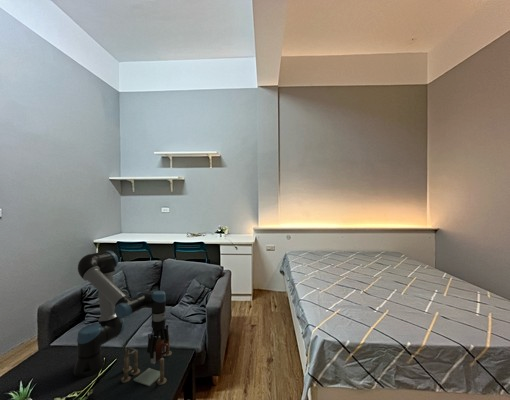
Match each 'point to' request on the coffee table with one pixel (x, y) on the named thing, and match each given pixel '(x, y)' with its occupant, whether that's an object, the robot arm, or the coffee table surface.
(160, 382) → the gate post right
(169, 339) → the gate post far
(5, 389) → the coffee table surface
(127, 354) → the light wood frame
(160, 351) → the mug
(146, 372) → the pad
